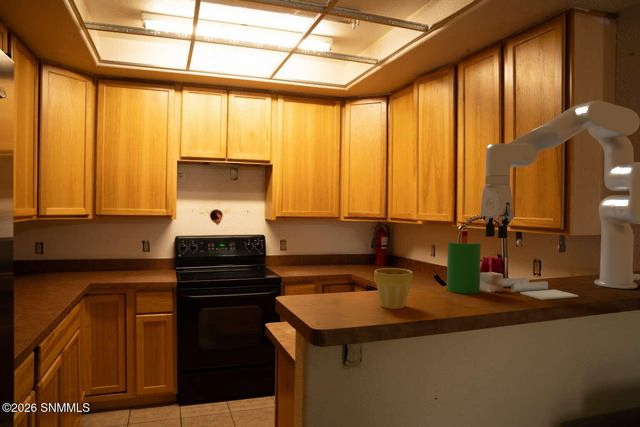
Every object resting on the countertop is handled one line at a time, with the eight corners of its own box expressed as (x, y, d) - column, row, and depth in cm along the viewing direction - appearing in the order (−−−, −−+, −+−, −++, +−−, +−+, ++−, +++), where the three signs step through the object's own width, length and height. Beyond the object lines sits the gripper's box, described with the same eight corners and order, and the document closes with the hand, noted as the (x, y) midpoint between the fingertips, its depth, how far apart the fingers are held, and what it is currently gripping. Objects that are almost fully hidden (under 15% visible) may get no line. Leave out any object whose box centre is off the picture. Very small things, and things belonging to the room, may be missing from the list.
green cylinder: (476, 288, 153) (477, 228, 152) (483, 294, 144) (484, 230, 143) (445, 288, 154) (446, 228, 153) (449, 293, 145) (451, 230, 144)
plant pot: (403, 312, 120) (404, 275, 120) (367, 307, 125) (368, 271, 125) (417, 305, 129) (418, 270, 128) (383, 300, 134) (383, 266, 134)
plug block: (492, 288, 154) (492, 272, 154) (502, 291, 150) (503, 274, 150) (479, 289, 153) (480, 272, 153) (489, 292, 148) (490, 275, 148)
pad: (554, 291, 150) (554, 289, 150) (578, 296, 142) (578, 295, 142) (520, 293, 146) (520, 292, 146) (542, 299, 137) (542, 298, 137)
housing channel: (526, 284, 162) (526, 277, 162) (547, 289, 153) (547, 282, 153) (493, 286, 157) (493, 279, 157) (513, 291, 149) (513, 284, 148)
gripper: (471, 182, 157) (470, 235, 158) (506, 180, 141) (505, 239, 142) (489, 182, 160) (488, 235, 161) (526, 181, 144) (524, 239, 144)
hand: (496, 236), depth 151 cm, fingers open, 5 cm apart
